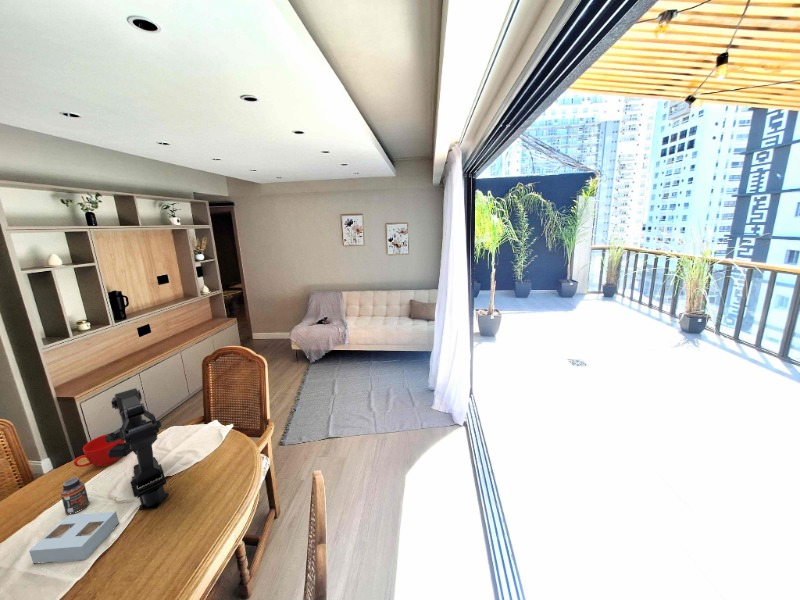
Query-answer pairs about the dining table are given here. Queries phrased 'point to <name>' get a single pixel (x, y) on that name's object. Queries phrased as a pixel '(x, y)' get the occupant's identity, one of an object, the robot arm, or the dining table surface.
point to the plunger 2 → (89, 529)
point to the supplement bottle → (74, 495)
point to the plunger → (60, 531)
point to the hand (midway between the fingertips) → (140, 456)
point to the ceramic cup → (98, 452)
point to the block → (74, 538)
